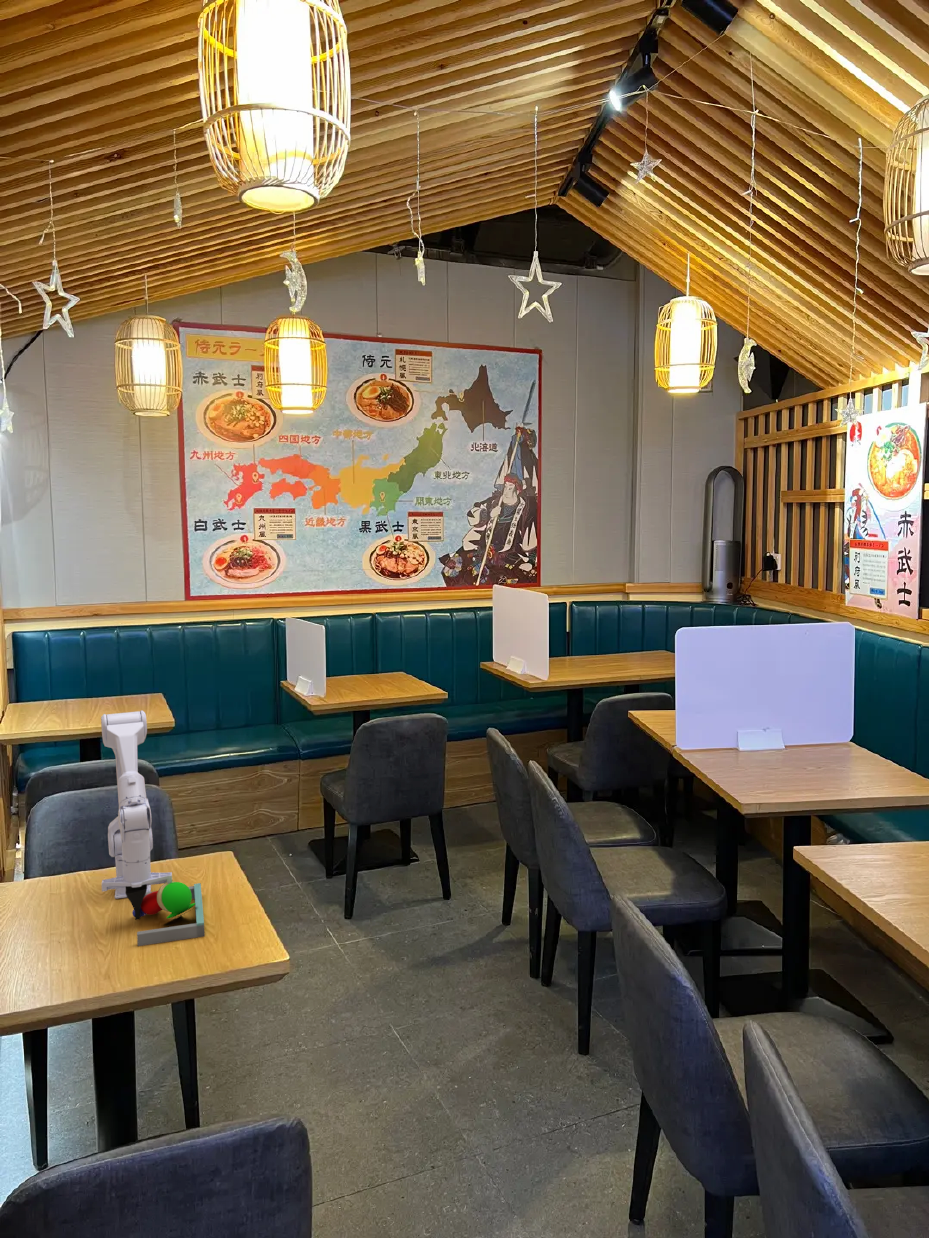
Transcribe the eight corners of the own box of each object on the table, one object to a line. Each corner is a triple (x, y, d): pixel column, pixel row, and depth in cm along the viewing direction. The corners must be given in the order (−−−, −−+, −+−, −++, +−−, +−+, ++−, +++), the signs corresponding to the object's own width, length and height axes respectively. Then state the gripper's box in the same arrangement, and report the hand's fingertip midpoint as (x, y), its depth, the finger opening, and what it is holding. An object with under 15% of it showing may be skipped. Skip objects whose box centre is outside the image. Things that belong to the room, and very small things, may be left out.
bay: (141, 903, 211) (140, 890, 210) (201, 895, 215) (200, 882, 215) (137, 946, 189) (136, 932, 189) (204, 936, 193) (204, 922, 193)
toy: (137, 938, 200) (178, 916, 193) (123, 905, 201) (162, 882, 195) (167, 923, 208) (207, 901, 201) (152, 891, 209) (192, 868, 202)
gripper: (99, 868, 193) (102, 929, 194) (170, 860, 197) (173, 920, 198) (102, 856, 199) (104, 916, 201) (171, 849, 204) (173, 907, 205)
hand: (138, 917), depth 200 cm, fingers closed, pressing on toy
